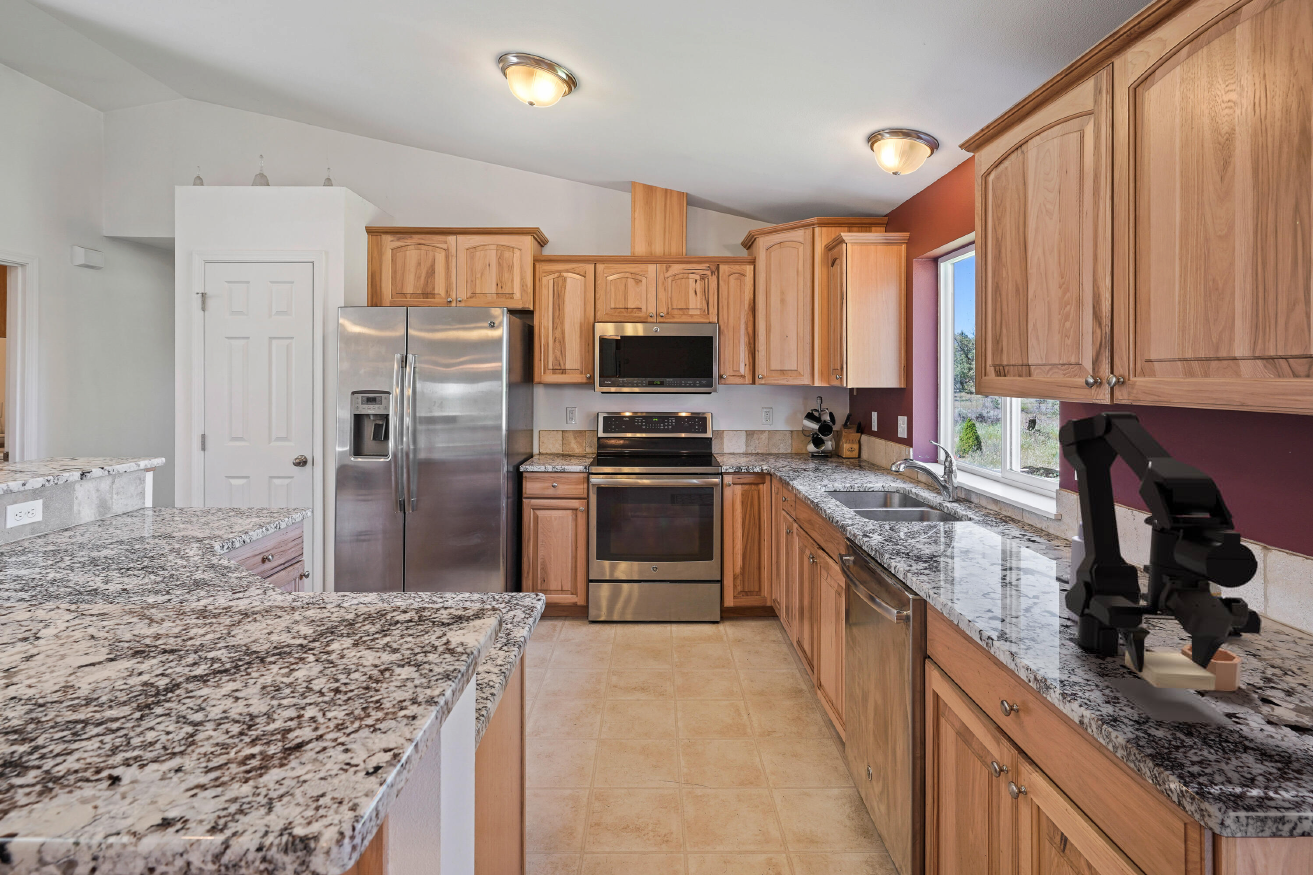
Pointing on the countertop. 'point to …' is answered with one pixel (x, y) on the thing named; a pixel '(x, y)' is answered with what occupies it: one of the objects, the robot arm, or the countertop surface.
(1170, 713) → the mat
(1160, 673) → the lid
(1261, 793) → the countertop surface
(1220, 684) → the bowl
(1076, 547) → the spray bottle
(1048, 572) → the countertop surface
